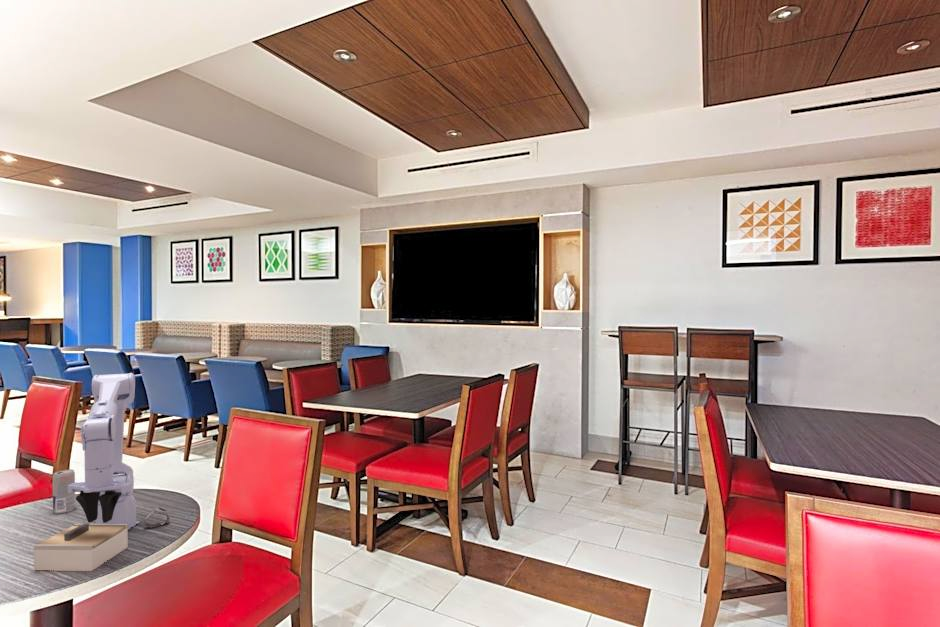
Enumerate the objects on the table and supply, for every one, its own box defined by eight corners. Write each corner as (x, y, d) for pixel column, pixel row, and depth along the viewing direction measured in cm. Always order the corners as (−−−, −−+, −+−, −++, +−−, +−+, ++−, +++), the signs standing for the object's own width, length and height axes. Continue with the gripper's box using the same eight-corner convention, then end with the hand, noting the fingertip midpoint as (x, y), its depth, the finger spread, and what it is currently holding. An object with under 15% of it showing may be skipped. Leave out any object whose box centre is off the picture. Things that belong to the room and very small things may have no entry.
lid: (72, 528, 131) (72, 519, 131) (124, 528, 130) (124, 520, 130) (37, 546, 120) (37, 537, 120) (94, 547, 120) (93, 538, 120)
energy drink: (64, 506, 158) (64, 468, 158) (79, 507, 158) (79, 469, 158) (48, 513, 153) (47, 474, 153) (63, 514, 152) (63, 475, 152)
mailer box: (75, 546, 132) (75, 523, 132) (127, 547, 131) (127, 524, 131) (34, 570, 120) (33, 545, 120) (91, 571, 119) (91, 546, 119)
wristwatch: (170, 524, 145) (170, 507, 145) (145, 531, 141) (145, 513, 141) (167, 520, 148) (167, 503, 148) (142, 527, 143) (142, 509, 143)
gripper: (57, 471, 121) (58, 527, 121) (115, 471, 121) (116, 528, 121) (80, 462, 128) (81, 515, 128) (136, 462, 128) (137, 515, 128)
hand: (100, 520), depth 125 cm, fingers open, 3 cm apart
